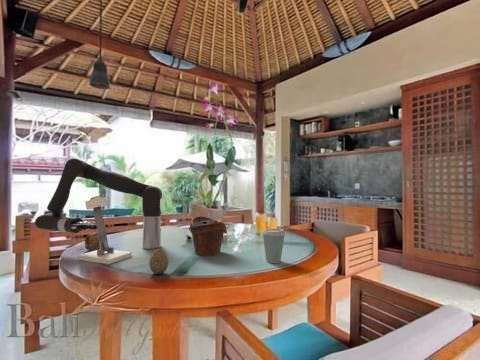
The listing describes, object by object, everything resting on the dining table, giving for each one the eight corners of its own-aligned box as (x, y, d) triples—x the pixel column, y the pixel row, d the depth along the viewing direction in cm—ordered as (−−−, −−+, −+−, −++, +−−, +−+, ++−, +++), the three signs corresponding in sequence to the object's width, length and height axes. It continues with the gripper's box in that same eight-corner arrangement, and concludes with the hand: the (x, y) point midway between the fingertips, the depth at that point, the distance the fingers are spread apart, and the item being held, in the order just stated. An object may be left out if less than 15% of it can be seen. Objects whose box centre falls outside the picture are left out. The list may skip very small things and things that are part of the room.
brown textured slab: (89, 252, 141) (89, 235, 141) (83, 252, 141) (83, 235, 141) (104, 245, 156) (104, 230, 156) (98, 245, 156) (99, 230, 156)
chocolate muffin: (222, 258, 133) (222, 220, 133) (182, 255, 137) (183, 219, 137) (230, 250, 150) (231, 217, 151) (195, 248, 154) (196, 215, 155)
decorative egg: (169, 271, 113) (170, 246, 113) (165, 277, 106) (166, 250, 106) (152, 271, 113) (152, 246, 113) (146, 276, 106) (147, 250, 106)
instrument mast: (94, 254, 130) (84, 198, 132) (103, 251, 134) (93, 198, 137) (107, 251, 127) (97, 194, 130) (115, 248, 132) (105, 194, 134)
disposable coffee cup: (266, 265, 123) (267, 231, 124) (258, 258, 134) (258, 227, 134) (288, 264, 126) (289, 230, 126) (278, 257, 137) (279, 227, 137)
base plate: (77, 259, 127) (78, 249, 127) (102, 252, 140) (102, 243, 140) (108, 264, 121) (108, 254, 121) (131, 256, 134) (131, 247, 134)
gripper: (57, 218, 133) (85, 220, 127) (82, 215, 145) (108, 217, 139) (57, 234, 133) (84, 237, 127) (82, 230, 145) (108, 232, 139)
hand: (97, 227), depth 133 cm, fingers closed
